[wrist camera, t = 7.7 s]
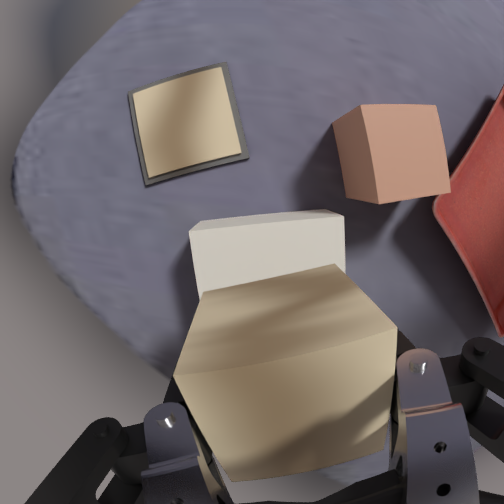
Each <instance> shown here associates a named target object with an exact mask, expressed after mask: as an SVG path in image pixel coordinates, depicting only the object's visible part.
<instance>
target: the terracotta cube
mask: <svg viewBox="0 0 504 504" xmlns="http://www.w3.org/2000/svg"><path fill="white" fill-rule="evenodd" d="M332 125H333V130H334V134H335V139H336V144H337V149H338V154H339V159H340V164H341V170H342V175H343V181H344V187H345V193H346V198H350V199H356V200H361V201H365V202H370V203H375V204H384V203H389V202H395V201H401V200H407V199H414V198H420V197H426V196H432V195H439V194H445V193H451V189H450V179H449V171H448V164H447V157H446V151H445V145H444V140H443V135H442V130H441V125H440V120H439V116H438V112H437V108H436V105H418V104H371V105H359V106H358V107H356V108H355V109H353V110H351V111H350V112H348V113H347V114H345V115H343V116H342V117H340V118H339V119H337V120H336V121H334V122H333V123H332Z"/></svg>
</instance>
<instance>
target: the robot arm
mask: <svg viewBox="0 0 504 504" xmlns="http://www.w3.org/2000/svg"><path fill="white" fill-rule="evenodd" d="M177 363H178V362H177ZM177 363H176V366H177ZM176 366H175V369H176ZM175 369H174V371H175ZM173 374H174V373H173ZM171 379H172V380H171V381H170V384H169V387H168V390H167V392H166V395H165V398H164V402H163V404H160V405H157V406H156V407H154V408H152V409H151V410H150V411H149V412H148V413H147V414H146V416H145V418H144V422H143V423H140V424H136V425H132V426H127V427H122V426H121V424H120V423H119V422H118V421H117V420H116V419H114V418H109V417H106V418H101V419H98V420H96V421H94V422H93V423H91V424H90V425H89V426H88V427H87V428H86V430H85V431H84V432H83V433H82V435H81V436H80V437H79V438H78V439H77V440H76V441H75V443H74V444H73V445H72V446H71V448H70V449H69V450H68V451H67V452H66V454H65V455H64V456H63V457H62V458H61V460H60V461H59V462H58V463H57V465H56V466H55V467H54V468H53V469H52V471H51V472H50V473H49V474H48V476H47V477H46V478H45V479H44V480H43V482H42V483H41V484H40V485H39V486H38V488H37V489H36V490H35V491H34V493H33V494H32V495H31V496H30V497H29V499H28V500H27V501H26V503H25V504H234V502H233V501H232V499H231V497H230V495H229V492H228V490H227V488H226V486H225V483H224V481H223V479H222V477H221V474H220V472H219V469H218V467H217V464H216V462H215V460H214V458H213V456H212V449H211V448H210V446H209V444H208V443H207V441H206V439H205V437H204V436H203V434H202V432H201V430H200V428H199V426H198V425H197V423H196V421H195V419H194V417H193V415H192V413H191V411H190V409H189V408H188V406H187V404H186V402H185V400H184V398H183V396H182V394H181V392H180V389H179V387H178V385H177V383H176V381H175V379H174V377H173V375H172V378H171ZM488 389H489V390H491V391H492V392H494V393H495V394H497V395H498V396H500V397H501V398H503V399H504V346H503V345H501V344H499V343H497V342H495V341H493V340H491V339H488V338H483V337H479V338H473V339H471V340H469V341H467V342H466V343H465V344H464V346H463V348H462V353H461V355H456V356H451V357H446V358H439V357H438V355H437V354H436V353H434V352H433V351H430V350H427V349H416V348H415V346H414V345H413V344H412V343H411V342H410V341H409V340H408V339H407V338H406V337H405V336H404V334H403V333H402V332H401V331H399V329H398V328H397V348H396V363H395V375H394V384H393V393H392V401H391V408H390V414H391V415H390V422H389V423H390V448H389V469H388V471H387V472H385V473H382V474H379V475H377V476H374V477H371V478H368V479H365V480H362V481H359V482H356V483H354V484H352V485H350V486H348V487H346V488H344V489H342V490H340V491H338V492H336V493H334V494H332V495H330V496H328V497H326V498H324V499H321V500H319V501H316V502H309V503H307V502H304V503H303V502H276V501H264V502H255V503H241V504H504V496H502V495H497V494H492V493H489V492H485V491H480V490H478V481H477V473H476V466H475V460H474V454H473V449H472V444H471V439H470V436H471V437H472V438H473V439H475V440H476V441H477V442H478V443H480V444H481V445H482V446H483V447H485V448H486V449H487V450H488V451H490V452H491V453H492V454H493V455H495V456H496V457H497V458H498V459H500V460H501V461H502V462H503V463H504V407H502V406H501V405H499V404H498V403H496V402H495V401H493V400H492V399H490V398H489V397H487V396H486V395H487V392H488ZM110 469H111V470H112V471H113V472H114V473H115V475H114V477H113V478H112V480H111V481H110V483H109V484H108V486H107V487H106V489H105V490H104V492H103V493H102V495H101V496H100V498H99V499H98V500H97V499H96V495H95V494H96V490H97V488H98V487H99V485H100V484H101V483H102V481H103V480H104V478H105V476H106V475H107V474H108V472H109V471H110Z"/></svg>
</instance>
